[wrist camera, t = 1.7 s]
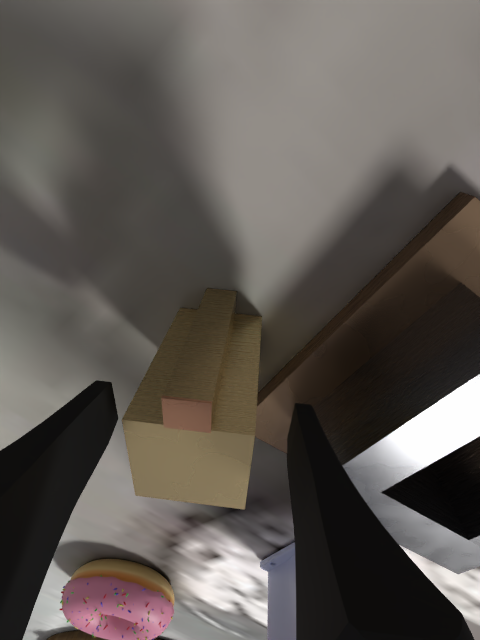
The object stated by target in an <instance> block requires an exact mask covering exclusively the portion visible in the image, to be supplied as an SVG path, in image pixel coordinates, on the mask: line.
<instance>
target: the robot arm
mask: <svg viewBox="0 0 480 640" xmlns="http://www.w3.org/2000/svg"><path fill="white" fill-rule="evenodd" d="M117 420H118V415H117V409H116V404H115V399H114V394H113V388H112V383H111V382H105V381H95V382H94V383H92V384H91V385H90V386H88V387H87V388H86V389H85V390H83V391H82V392H81V393H80V394H78V395H77V396H76V397H75V398H73V399H72V400H71V401H69V402H68V403H67V404H66V405H64V406H63V407H62V408H60V409H59V410H58V411H57V412H55V413H54V414H53V415H51V416H50V417H49V418H47V419H46V420H45V421H43V422H42V423H41V424H39V425H38V426H36V427H35V428H34V429H32V430H31V431H29V432H28V433H26V434H25V435H24V436H22V437H21V438H19V439H18V440H16V441H15V442H13V443H12V444H10V445H9V446H7V447H6V448H4V449H2V450H1V451H0V640H22V639H23V636H24V633H25V631H26V628H27V625H28V622H29V619H30V616H31V613H32V611H33V608H34V605H35V602H36V600H37V597H38V594H39V592H40V589H41V586H42V584H43V581H44V579H45V576H46V573H47V571H48V568H49V566H50V563H51V561H52V558H53V556H54V553H55V551H56V548H57V546H58V544H59V541H60V539H61V536H62V534H63V532H64V529H65V527H66V525H67V522H68V520H69V518H70V516H71V513H72V511H73V509H74V507H75V505H76V503H77V501H78V499H79V497H80V495H81V493H82V492H83V490H84V488H85V486H86V484H87V482H88V480H89V479H90V477H91V475H92V473H93V471H94V469H95V468H96V466H97V464H98V462H99V460H100V458H101V456H102V455H103V453H104V451H105V449H106V447H107V445H108V443H109V441H110V438H111V436H112V433H113V431H114V428H115V426H116V423H117ZM287 467H288V477H289V486H290V495H291V505H292V514H293V523H294V535H295V542H294V543H292V544H290V545H288V546H287V547H285V548H283V549H281V550H280V551H278V552H276V553H274V554H273V555H271V556H269V557H267V558H265V559H264V560H262V561H261V562H260V567H261V569H263V570H265V571H268V640H474V638H473V636H472V633H471V631H470V630H469V628H468V625H467V623H466V622H465V619H464V617H463V615H462V613H461V612H460V611H459V610H458V609H457V608H456V607H455V606H454V605H453V604H452V603H451V602H450V601H449V600H448V599H447V598H446V597H445V596H444V595H443V594H442V593H441V592H440V591H439V590H438V589H437V587H436V586H435V585H434V584H433V583H432V582H431V581H430V580H429V579H428V578H427V577H426V576H425V575H424V573H423V572H422V571H421V570H420V569H419V568H418V567H417V566H416V564H415V563H414V562H413V561H412V560H411V559H410V558H409V557H408V555H407V554H406V553H405V552H404V551H403V549H402V548H401V547H400V546H399V544H398V543H397V542H396V541H395V540H394V538H393V537H392V536H391V535H390V533H389V532H388V531H387V530H386V529H385V527H384V526H383V525H382V523H381V522H380V521H379V519H378V518H377V517H376V515H375V514H374V513H373V511H372V510H371V509H370V507H369V506H368V505H367V503H366V502H365V500H364V499H363V497H362V496H361V495H360V493H359V492H358V490H357V489H356V487H355V485H354V484H353V482H352V481H351V479H350V478H349V476H348V474H347V473H346V471H345V469H344V468H343V466H342V464H341V463H340V461H339V459H338V457H337V456H336V454H335V452H334V450H333V448H332V446H331V445H330V443H329V441H328V439H327V437H326V435H325V433H324V431H323V429H322V426H321V424H320V422H319V420H318V418H317V415H316V413H315V411H314V408H313V406H312V405H310V404H301V403H295V405H294V410H293V414H292V419H291V423H290V428H289V432H288V437H287Z"/></svg>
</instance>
